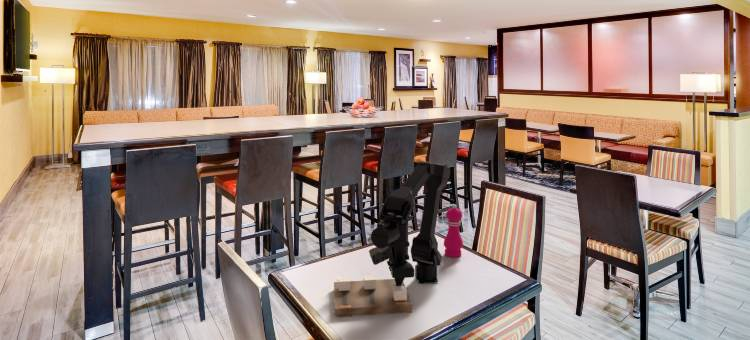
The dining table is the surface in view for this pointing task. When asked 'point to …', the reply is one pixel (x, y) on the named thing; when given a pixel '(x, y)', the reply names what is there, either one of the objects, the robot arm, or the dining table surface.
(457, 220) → the pepper mill
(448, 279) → the dining table surface
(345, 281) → the tab
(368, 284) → the tab
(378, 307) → the switch board
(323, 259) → the dining table surface
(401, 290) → the tab
